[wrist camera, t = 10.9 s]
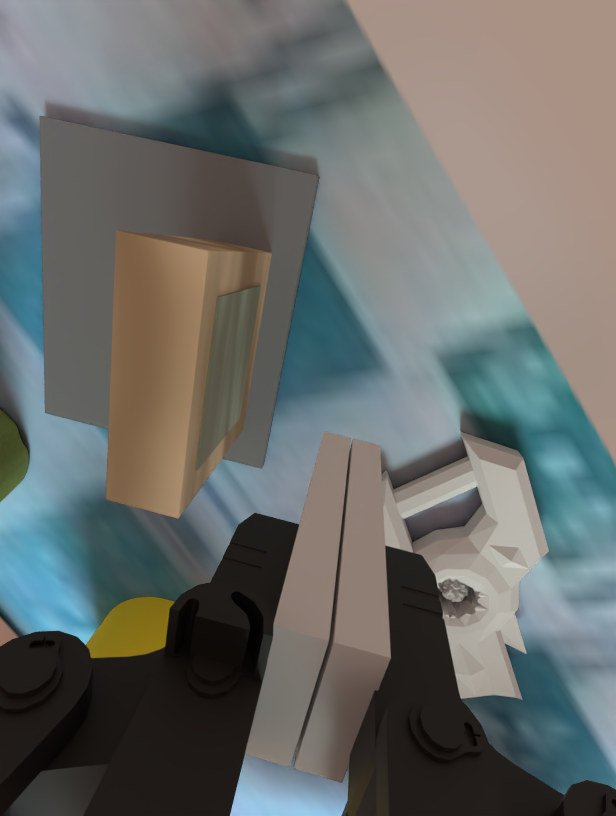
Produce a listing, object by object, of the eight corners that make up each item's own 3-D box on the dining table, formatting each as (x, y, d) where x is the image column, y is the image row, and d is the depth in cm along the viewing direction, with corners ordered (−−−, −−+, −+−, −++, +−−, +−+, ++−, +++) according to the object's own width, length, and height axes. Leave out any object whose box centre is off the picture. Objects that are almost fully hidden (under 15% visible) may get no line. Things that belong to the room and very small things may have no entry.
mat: (263, 464, 26) (261, 468, 26) (51, 409, 27) (45, 412, 26) (319, 177, 20) (317, 175, 20) (48, 119, 21) (39, 115, 21)
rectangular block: (273, 253, 21) (211, 251, 13) (244, 430, 25) (181, 519, 17) (215, 240, 22) (116, 230, 13) (194, 418, 25) (105, 499, 17)
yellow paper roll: (141, 702, 36) (66, 849, 27) (79, 611, 33) (-27, 741, 24) (246, 684, 33) (201, 839, 24) (189, 584, 30) (115, 717, 22)
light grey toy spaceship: (596, 711, 25) (426, 728, 27) (571, 661, 28) (422, 680, 31) (521, 432, 21) (331, 483, 24) (502, 411, 24) (338, 458, 27)
